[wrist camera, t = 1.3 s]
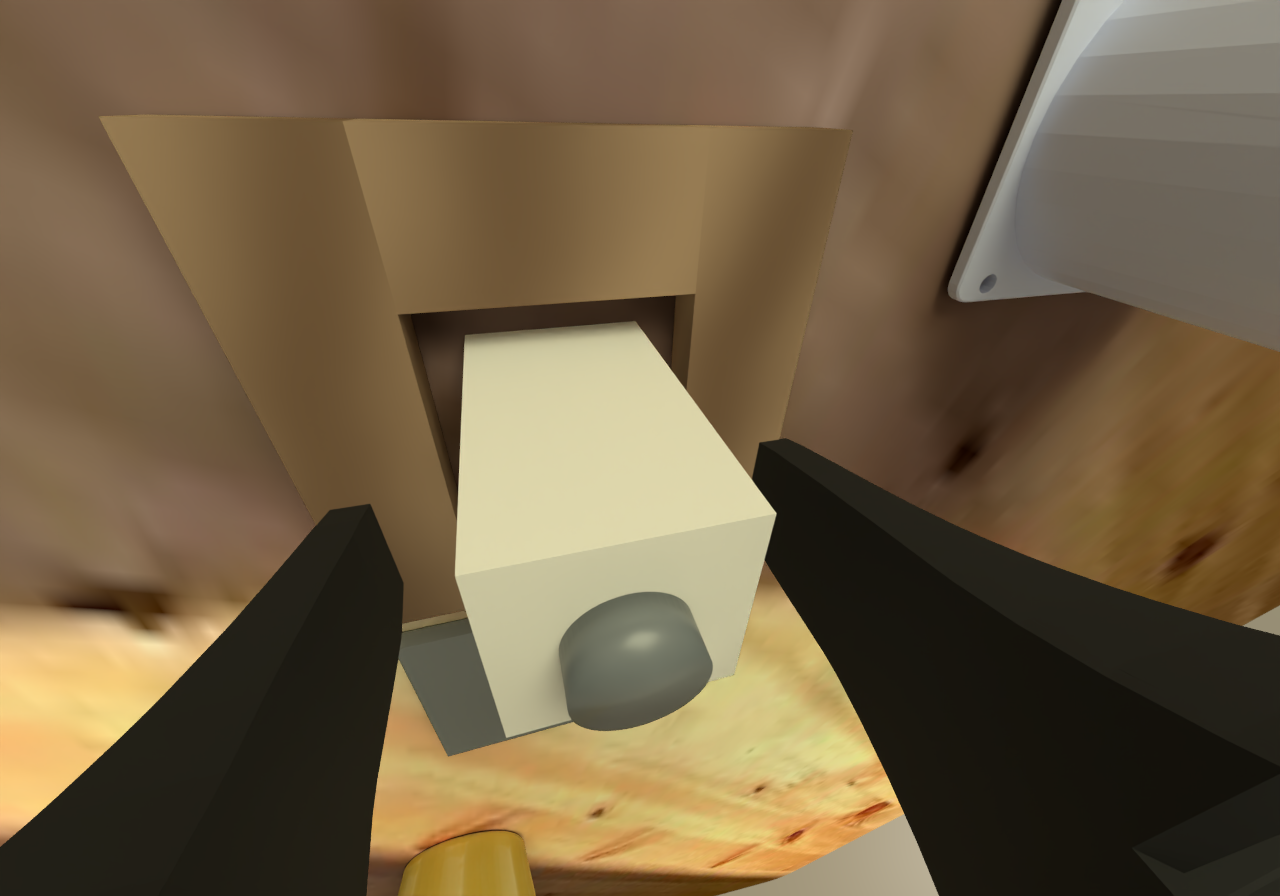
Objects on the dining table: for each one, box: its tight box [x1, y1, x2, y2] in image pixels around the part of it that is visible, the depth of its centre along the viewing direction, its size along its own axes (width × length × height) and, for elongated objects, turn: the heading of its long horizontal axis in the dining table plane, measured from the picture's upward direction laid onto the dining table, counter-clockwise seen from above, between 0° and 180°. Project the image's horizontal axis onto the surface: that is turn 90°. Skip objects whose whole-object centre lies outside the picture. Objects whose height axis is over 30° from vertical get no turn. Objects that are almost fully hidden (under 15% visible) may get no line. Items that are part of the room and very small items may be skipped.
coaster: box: [398, 618, 574, 756], centre depth 19 cm, size 8×8×1 cm
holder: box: [99, 115, 853, 623], centre depth 12 cm, size 12×12×1 cm
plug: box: [455, 321, 777, 738], centre depth 9 cm, size 4×4×8 cm
